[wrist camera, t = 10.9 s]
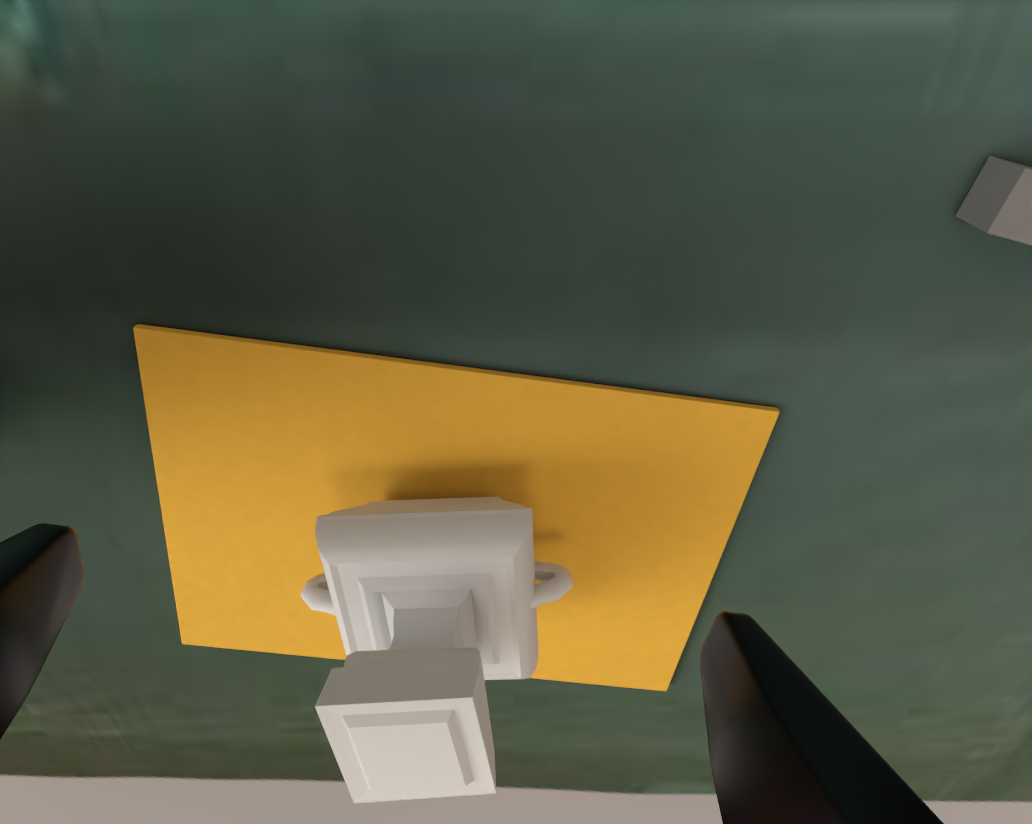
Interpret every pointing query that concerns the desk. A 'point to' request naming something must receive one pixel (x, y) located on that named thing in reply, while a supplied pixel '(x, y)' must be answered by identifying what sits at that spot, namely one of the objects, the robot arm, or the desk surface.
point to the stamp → (426, 638)
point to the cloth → (439, 488)
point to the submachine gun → (1001, 200)
